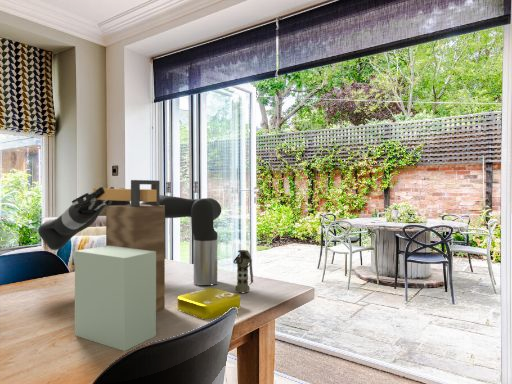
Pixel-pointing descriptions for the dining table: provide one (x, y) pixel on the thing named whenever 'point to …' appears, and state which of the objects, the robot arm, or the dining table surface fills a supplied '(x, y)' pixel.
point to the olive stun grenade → (243, 271)
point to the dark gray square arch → (136, 191)
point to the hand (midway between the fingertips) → (108, 189)
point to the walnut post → (140, 236)
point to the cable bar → (128, 195)
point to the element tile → (208, 302)
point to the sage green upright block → (115, 295)
